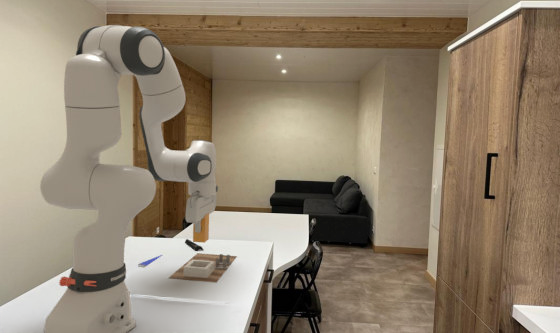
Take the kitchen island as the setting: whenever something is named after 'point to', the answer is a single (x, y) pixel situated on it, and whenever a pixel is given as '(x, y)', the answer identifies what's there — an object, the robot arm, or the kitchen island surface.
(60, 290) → the kitchen island surface
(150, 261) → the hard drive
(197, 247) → the electric trimmer
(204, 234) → the connector plug
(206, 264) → the end holder
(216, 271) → the board
